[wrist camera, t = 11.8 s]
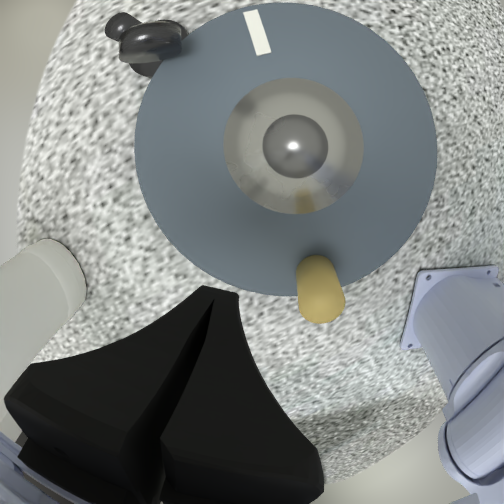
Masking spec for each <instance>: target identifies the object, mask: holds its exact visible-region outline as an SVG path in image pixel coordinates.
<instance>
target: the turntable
mask: <svg viewBox="0 0 504 504" xmlns="http://www.w3.org/2000/svg"><path fill="white" fill-rule="evenodd" d="M181 43H182V51H181V52H180V53H179V54H177V55H176V56H173V57H171V58H168V59H164V60H163V62H162V63H161V65H160V66H159V68H158V69H157V71H156V72H155V74H154V75H153V77H152V79H151V81H150V83H149V85H148V87H147V90H146V92H145V94H144V96H143V100H142V103H141V106H140V109H139V113H138V117H137V123H136V129H135V149H134V153H135V162H136V171H137V175H138V180H139V184H140V188H141V191H142V194H143V196H144V199H145V201H146V204H147V206H148V209H149V210H150V212H151V214H152V216H153V218H154V220H155V221H156V223H157V225H158V226H159V228H160V229H161V230H162V232H163V233H164V234H165V236H166V237H167V239H168V240H169V241H170V242H171V243H172V244H173V245H174V246H175V247H176V248H177V250H178V251H179V252H180V253H181V254H182V255H184V256H185V257H186V258H187V259H188V260H190V261H191V262H192V263H193V264H194V265H196V266H197V267H199V268H200V269H202V270H203V271H205V272H206V273H208V274H209V275H211V276H213V277H215V278H217V279H219V280H221V281H223V282H225V283H227V284H230V285H232V286H235V287H238V288H241V289H244V290H247V291H251V292H256V293H260V294H266V295H275V296H298V303H299V310H300V313H301V315H302V316H303V317H304V318H305V319H306V320H308V321H310V322H312V323H318V324H321V323H327V322H330V321H332V320H334V319H336V318H337V317H338V316H339V315H340V314H341V313H342V311H343V310H344V307H345V297H344V294H343V291H342V288H341V287H343V286H345V285H348V284H351V283H353V282H355V281H357V280H359V279H361V278H363V277H364V276H366V275H368V274H370V273H371V272H373V271H374V270H376V269H377V268H378V267H380V266H381V265H383V264H384V263H385V262H386V261H387V260H388V259H390V258H391V257H392V256H393V255H394V254H395V253H396V252H397V251H398V250H399V249H400V248H401V247H402V245H403V244H404V243H405V242H406V241H407V239H408V238H409V237H410V236H411V234H412V233H413V231H414V229H415V228H416V226H417V225H418V223H419V221H420V220H421V218H422V215H423V213H424V211H425V209H426V207H427V205H428V202H429V199H430V196H431V192H432V189H433V186H434V180H435V174H436V168H437V139H436V130H435V125H434V121H433V116H432V112H431V109H430V106H429V104H428V101H427V98H426V96H425V93H424V91H423V89H422V87H421V85H420V84H419V82H418V80H417V78H416V76H415V75H414V73H413V72H412V70H411V69H410V67H409V66H408V65H407V63H406V62H405V61H404V60H403V58H402V57H401V56H400V55H399V54H398V53H397V52H396V51H395V50H394V49H393V48H392V47H391V46H390V45H389V44H388V43H387V42H386V41H385V40H384V39H382V38H381V37H380V36H379V35H377V34H376V33H375V32H373V31H372V30H371V29H369V28H367V27H366V26H364V25H362V24H361V23H359V22H357V21H355V20H354V19H352V18H349V17H347V16H345V15H342V14H340V13H337V12H335V11H332V10H329V9H325V8H321V7H317V6H313V5H306V4H298V3H266V4H259V5H253V6H248V7H244V8H241V9H237V10H234V11H231V12H228V13H226V14H223V15H221V16H219V17H217V18H215V19H213V20H211V21H209V22H207V23H205V24H204V25H202V26H201V27H199V28H198V29H196V30H195V31H193V32H192V33H190V34H189V35H188V36H187V37H186V38H185V39H183V40H182V41H181ZM282 78H301V79H307V80H311V81H315V82H317V83H320V84H322V85H324V86H326V87H328V88H330V89H331V90H333V91H334V92H336V93H337V94H338V95H339V96H340V97H341V98H343V99H344V100H345V101H346V103H347V104H348V105H349V106H350V108H351V109H352V111H353V112H354V114H355V116H356V117H357V120H358V122H359V124H360V127H361V131H362V135H363V142H364V153H363V161H362V164H361V168H360V171H359V173H358V176H357V178H356V179H355V181H354V183H353V185H352V186H351V187H350V188H349V190H348V191H347V192H346V193H345V194H344V195H343V196H342V197H341V198H340V199H338V200H337V201H336V202H334V203H333V204H331V205H329V206H328V207H325V208H323V209H321V210H318V211H315V212H311V213H305V214H286V213H280V212H276V211H273V210H270V209H267V208H265V207H263V206H261V205H259V204H257V203H256V202H254V201H253V200H251V199H250V198H249V197H248V196H247V195H246V194H244V193H243V191H242V190H241V189H240V188H239V187H238V186H237V184H236V183H235V181H234V180H233V178H232V176H231V174H230V172H229V170H228V167H227V164H226V161H225V156H224V148H223V141H224V132H225V127H226V124H227V121H228V119H229V117H230V115H231V113H232V111H233V109H234V108H235V106H236V105H237V103H238V102H239V101H240V100H241V99H242V98H243V97H244V96H245V95H246V94H247V93H249V92H250V91H251V90H253V89H254V88H256V87H258V86H259V85H262V84H264V83H266V82H269V81H273V80H276V79H282Z"/></svg>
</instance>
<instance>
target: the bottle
mask: <svg viewBox="0 0 504 504" xmlns="http://www.w3.org/2000/svg"><path fill="white" fill-rule="evenodd" d="M86 291H87V289H86V283H85V277H84V275H83V273H82V270H81V268H80V266H79V263H78V262H77V260H76V259H75V258H74V256H73V255H72V253H71V252H70V251H69V250H68V249H67V248H65V247H64V246H63V245H62V244H61V243H59V242H57V241H54V240H52V239H42V240H40V241H38V242H37V243H35V244H32V245H30V246H28V247H26V248H25V249H24V250H22V251H21V252H20V253H19V254H18V255H16V256H15V257H13V258H12V259H10V260H9V261H7V262H6V263H4V264H3V265H1V266H0V401H1V400H2V398H3V397H4V396H5V394H6V393H7V392H8V390H9V389H10V388H11V386H12V385H13V384H14V383H15V381H16V380H17V379H18V378H19V376H20V375H21V374H22V373H23V371H24V370H25V369H26V368H27V366H28V365H29V364H30V363H31V362H32V360H33V359H34V358H35V357H36V356H37V354H38V353H39V352H40V351H41V350H42V349H43V347H44V346H45V345H46V344H47V343H48V342H49V341H50V339H51V338H52V337H53V336H54V335H55V334H56V333H57V332H58V330H59V329H60V328H61V327H62V326H63V325H64V324H66V323H67V322H68V321H69V320H70V319H71V318H72V317H73V315H74V314H75V313H76V311H77V310H78V309H79V308H80V307H81V305H82V304H83V302H84V301H85V298H86Z"/></svg>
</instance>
